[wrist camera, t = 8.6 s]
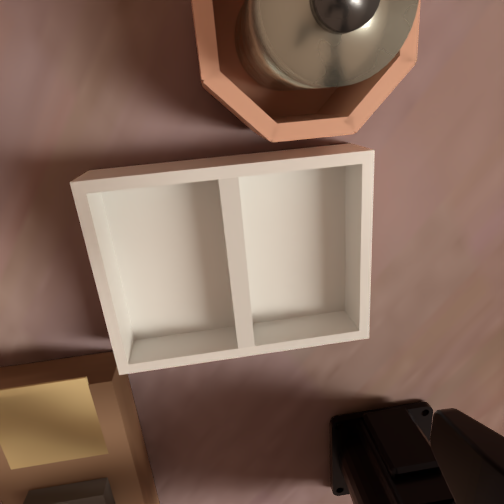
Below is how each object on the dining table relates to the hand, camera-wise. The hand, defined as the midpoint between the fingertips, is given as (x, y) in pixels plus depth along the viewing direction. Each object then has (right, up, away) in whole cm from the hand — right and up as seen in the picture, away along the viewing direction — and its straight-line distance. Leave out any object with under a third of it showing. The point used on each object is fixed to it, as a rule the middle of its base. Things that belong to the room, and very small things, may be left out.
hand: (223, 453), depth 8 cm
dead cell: (+2, +13, +8) cm, 15 cm away
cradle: (-9, -8, +15) cm, 20 cm away
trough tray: (0, +4, +12) cm, 12 cm away
